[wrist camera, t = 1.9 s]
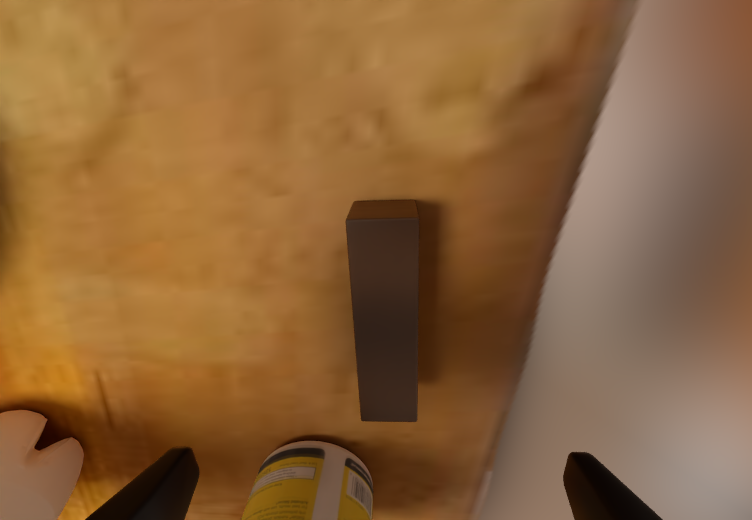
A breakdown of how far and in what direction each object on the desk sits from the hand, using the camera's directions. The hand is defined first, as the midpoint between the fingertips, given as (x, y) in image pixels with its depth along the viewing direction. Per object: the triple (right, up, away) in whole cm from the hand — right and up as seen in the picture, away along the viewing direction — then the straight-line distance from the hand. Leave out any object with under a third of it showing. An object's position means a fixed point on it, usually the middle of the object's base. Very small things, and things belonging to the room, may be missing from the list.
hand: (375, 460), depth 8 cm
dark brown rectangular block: (+1, +3, +7) cm, 8 cm away
